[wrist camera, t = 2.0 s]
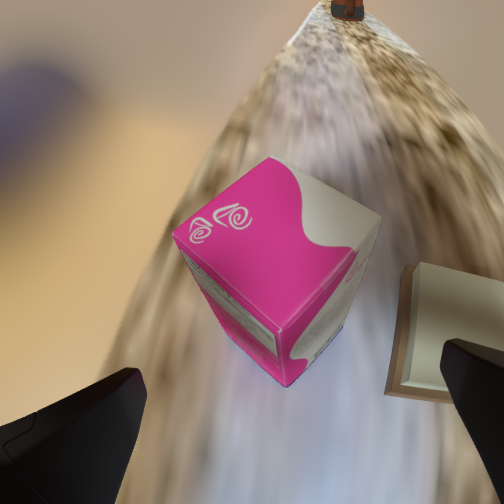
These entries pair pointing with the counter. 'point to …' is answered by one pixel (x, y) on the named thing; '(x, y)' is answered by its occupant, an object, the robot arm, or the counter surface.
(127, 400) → the robot arm
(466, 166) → the counter surface
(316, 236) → the supplement box
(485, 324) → the pedestal
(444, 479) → the counter surface
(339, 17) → the banded dark cylinder
